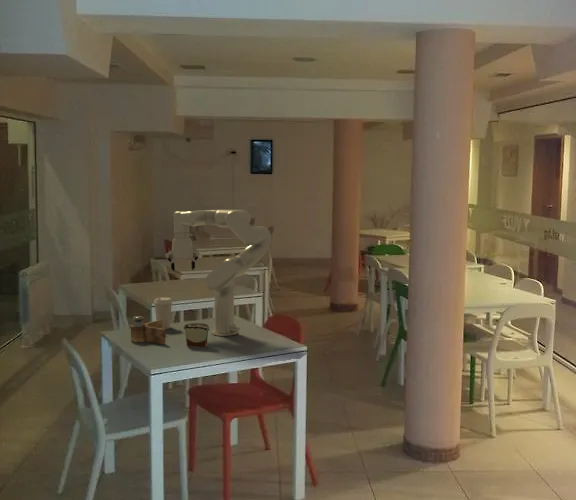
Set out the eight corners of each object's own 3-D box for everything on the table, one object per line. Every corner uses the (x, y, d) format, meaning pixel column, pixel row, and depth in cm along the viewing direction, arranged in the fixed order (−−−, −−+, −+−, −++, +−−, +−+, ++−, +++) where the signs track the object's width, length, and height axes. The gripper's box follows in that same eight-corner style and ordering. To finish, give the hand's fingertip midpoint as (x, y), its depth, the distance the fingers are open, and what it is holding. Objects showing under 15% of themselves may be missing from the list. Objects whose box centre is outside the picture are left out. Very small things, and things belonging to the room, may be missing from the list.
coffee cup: (157, 325, 372) (156, 296, 370) (175, 326, 371) (174, 297, 369) (151, 329, 363) (150, 300, 361) (169, 330, 361) (169, 300, 360)
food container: (214, 345, 330) (214, 323, 329) (208, 348, 325) (208, 326, 323) (190, 343, 334) (189, 322, 333) (183, 346, 329) (183, 324, 327)
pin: (146, 339, 341) (145, 316, 340) (138, 341, 337) (138, 318, 336) (138, 338, 344) (138, 315, 343) (131, 340, 340) (130, 317, 338)
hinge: (186, 337, 346) (186, 323, 345) (158, 345, 329) (158, 330, 328) (155, 332, 356) (155, 318, 355) (127, 340, 339) (127, 326, 339)
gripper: (197, 234, 364) (199, 268, 366) (163, 236, 359) (164, 270, 361) (200, 235, 357) (201, 270, 359) (165, 237, 352) (166, 272, 354)
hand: (183, 270), depth 360 cm, fingers open, 9 cm apart
